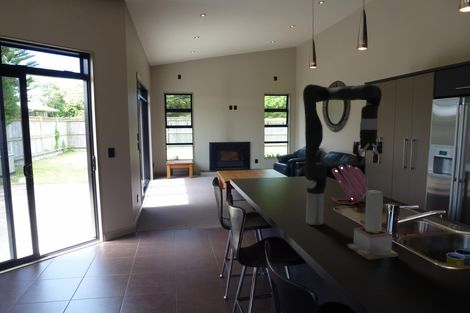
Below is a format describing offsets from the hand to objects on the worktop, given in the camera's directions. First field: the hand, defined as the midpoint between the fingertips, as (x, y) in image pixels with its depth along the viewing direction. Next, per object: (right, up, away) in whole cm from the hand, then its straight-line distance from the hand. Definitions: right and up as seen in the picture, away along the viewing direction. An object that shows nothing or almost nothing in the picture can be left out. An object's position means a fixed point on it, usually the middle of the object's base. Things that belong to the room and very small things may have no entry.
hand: (367, 163), depth 146 cm
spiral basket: (+17, -29, +71) cm, 78 cm away
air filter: (-3, -37, -12) cm, 39 cm away
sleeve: (-3, -36, -13) cm, 39 cm away
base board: (-3, -38, -12) cm, 40 cm away
